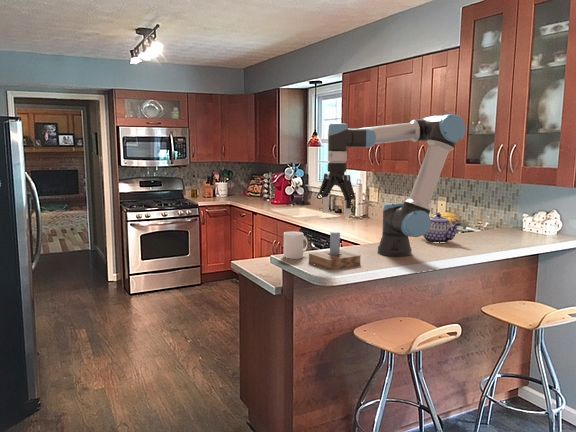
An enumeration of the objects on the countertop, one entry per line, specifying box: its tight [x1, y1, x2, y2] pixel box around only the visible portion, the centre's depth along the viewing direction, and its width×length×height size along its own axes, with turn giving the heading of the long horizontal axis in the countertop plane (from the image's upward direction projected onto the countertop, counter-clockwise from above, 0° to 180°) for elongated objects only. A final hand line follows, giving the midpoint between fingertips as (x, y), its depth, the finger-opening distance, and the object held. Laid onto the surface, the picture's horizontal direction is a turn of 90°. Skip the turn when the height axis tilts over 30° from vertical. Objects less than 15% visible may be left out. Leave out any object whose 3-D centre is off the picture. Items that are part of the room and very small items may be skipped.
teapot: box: [422, 212, 461, 243], centre depth 252 cm, size 25×15×15 cm, turn 37°
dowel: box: [329, 231, 341, 256], centre depth 202 cm, size 4×4×12 cm
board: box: [308, 249, 361, 271], centre depth 203 cm, size 16×14×4 cm
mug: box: [283, 231, 309, 260], centre depth 215 cm, size 9×12×11 cm
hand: (336, 214), depth 201 cm, fingers open, 13 cm apart
